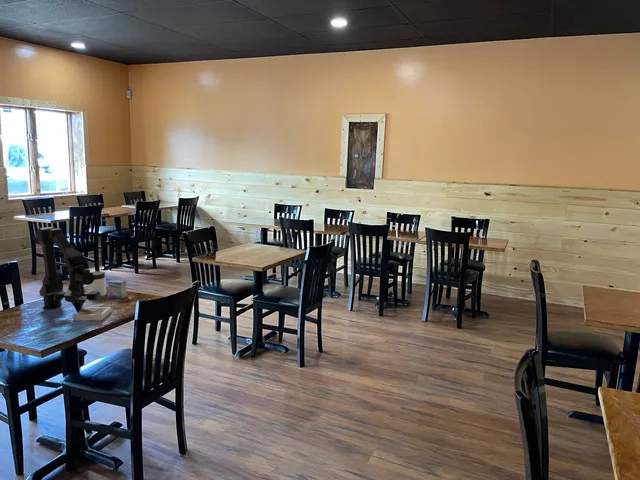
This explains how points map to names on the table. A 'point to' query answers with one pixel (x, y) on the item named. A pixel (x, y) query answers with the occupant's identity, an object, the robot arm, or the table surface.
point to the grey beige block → (90, 311)
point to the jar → (98, 283)
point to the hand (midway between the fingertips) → (79, 313)
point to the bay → (104, 313)
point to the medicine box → (117, 289)
